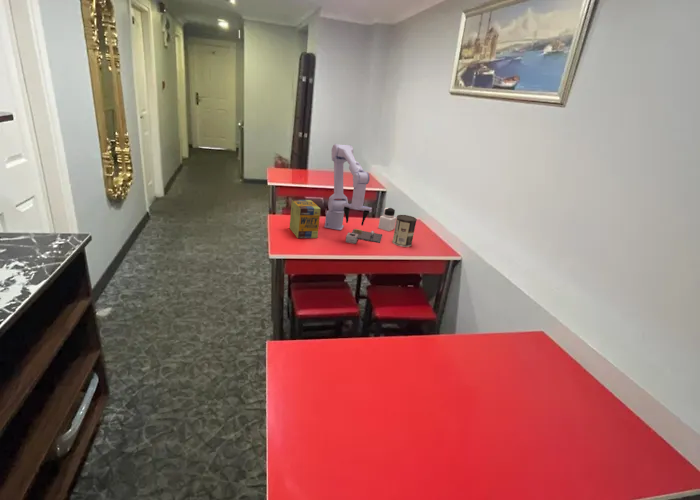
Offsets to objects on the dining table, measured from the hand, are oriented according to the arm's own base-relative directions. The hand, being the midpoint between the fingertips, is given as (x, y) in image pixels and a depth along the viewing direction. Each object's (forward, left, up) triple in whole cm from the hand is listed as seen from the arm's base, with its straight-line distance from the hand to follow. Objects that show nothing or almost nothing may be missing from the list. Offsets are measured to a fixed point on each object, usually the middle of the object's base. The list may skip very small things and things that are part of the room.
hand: (354, 223), depth 189 cm
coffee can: (+25, +11, -10) cm, 29 cm away
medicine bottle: (+15, +31, -10) cm, 35 cm away
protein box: (-25, -1, -10) cm, 27 cm away
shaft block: (+6, +11, -9) cm, 15 cm away
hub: (0, 0, -9) cm, 9 cm away
